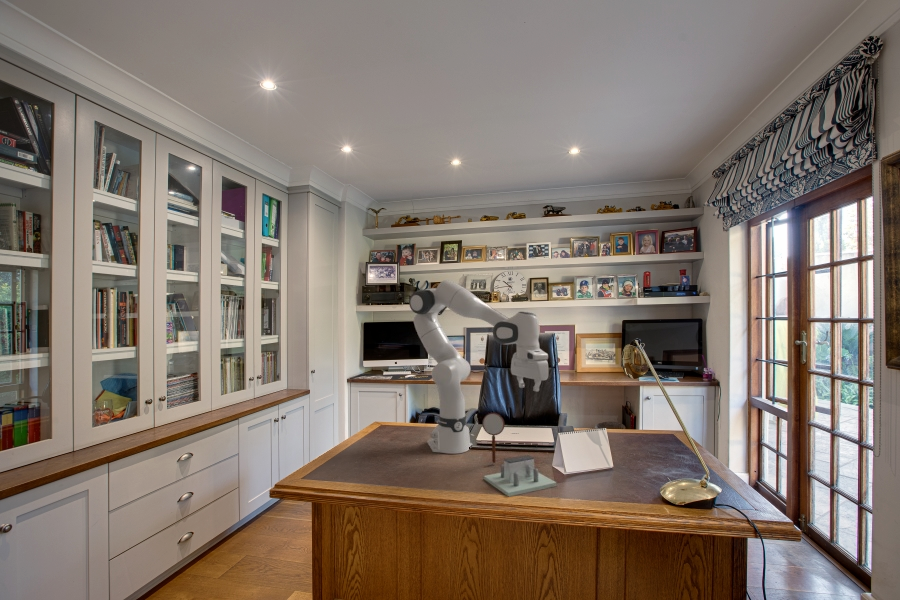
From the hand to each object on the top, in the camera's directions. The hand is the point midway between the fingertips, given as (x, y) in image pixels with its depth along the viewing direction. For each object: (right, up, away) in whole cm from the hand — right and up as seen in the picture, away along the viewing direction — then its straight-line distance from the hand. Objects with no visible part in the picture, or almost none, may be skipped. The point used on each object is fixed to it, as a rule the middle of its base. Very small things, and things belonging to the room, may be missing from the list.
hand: (528, 389), depth 162 cm
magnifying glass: (-13, -30, 0) cm, 32 cm away
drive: (-7, -27, -17) cm, 33 cm away
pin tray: (-7, -29, -17) cm, 34 cm away
